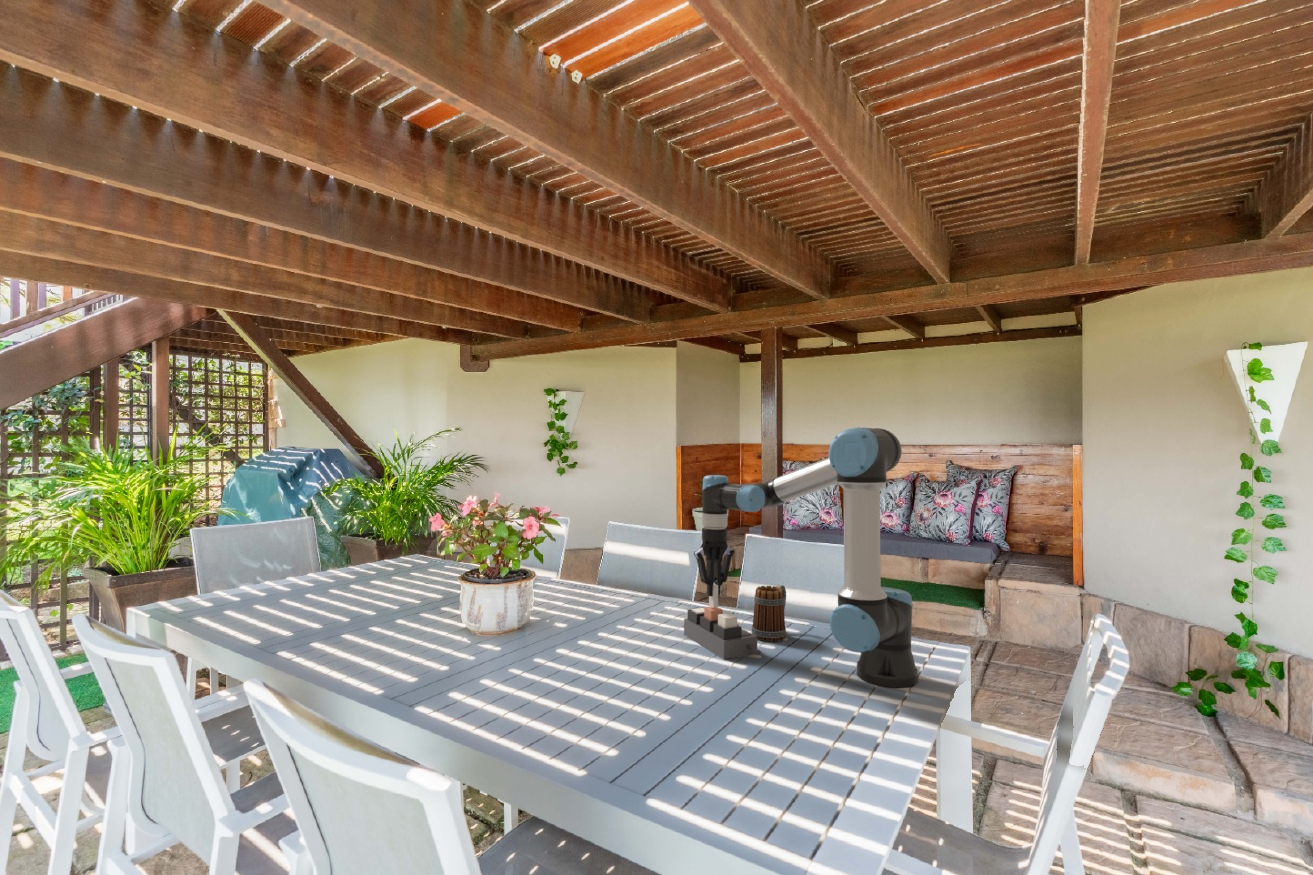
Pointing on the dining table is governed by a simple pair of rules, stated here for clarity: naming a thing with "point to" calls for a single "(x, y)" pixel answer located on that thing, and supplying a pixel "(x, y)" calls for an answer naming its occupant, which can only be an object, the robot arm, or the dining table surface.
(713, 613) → the button
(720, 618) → the button
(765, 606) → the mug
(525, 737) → the dining table surface
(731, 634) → the push button switch box
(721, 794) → the dining table surface
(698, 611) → the button
